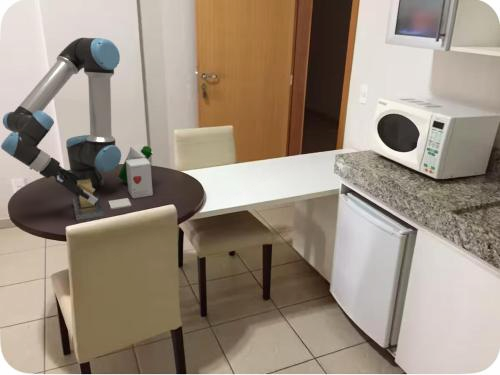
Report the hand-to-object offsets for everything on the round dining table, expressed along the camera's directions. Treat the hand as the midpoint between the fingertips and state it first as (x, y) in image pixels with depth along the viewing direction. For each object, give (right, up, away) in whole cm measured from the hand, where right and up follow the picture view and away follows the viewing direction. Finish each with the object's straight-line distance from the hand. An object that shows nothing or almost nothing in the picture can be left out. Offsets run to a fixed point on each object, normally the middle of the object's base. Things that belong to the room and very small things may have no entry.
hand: (94, 196), depth 170 cm
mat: (+9, -3, +6) cm, 11 cm away
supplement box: (+14, +1, +17) cm, 22 cm away
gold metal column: (-3, -5, +1) cm, 6 cm away
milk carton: (+5, +8, +29) cm, 31 cm away
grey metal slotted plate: (-3, -5, +1) cm, 6 cm away
